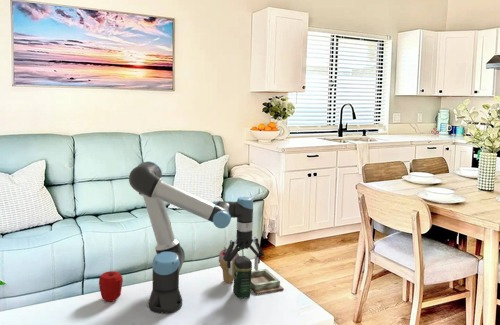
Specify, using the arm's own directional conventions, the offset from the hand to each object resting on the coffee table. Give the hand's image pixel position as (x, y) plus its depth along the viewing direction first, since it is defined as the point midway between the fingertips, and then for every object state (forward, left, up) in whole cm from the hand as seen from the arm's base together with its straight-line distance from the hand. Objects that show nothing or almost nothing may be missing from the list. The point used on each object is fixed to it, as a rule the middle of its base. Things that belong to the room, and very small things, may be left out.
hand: (243, 272), depth 206 cm
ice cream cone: (-1, +16, -12) cm, 19 cm away
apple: (-59, +16, -12) cm, 63 cm away
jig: (+14, +8, -12) cm, 20 cm away
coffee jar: (0, 0, -12) cm, 12 cm away
